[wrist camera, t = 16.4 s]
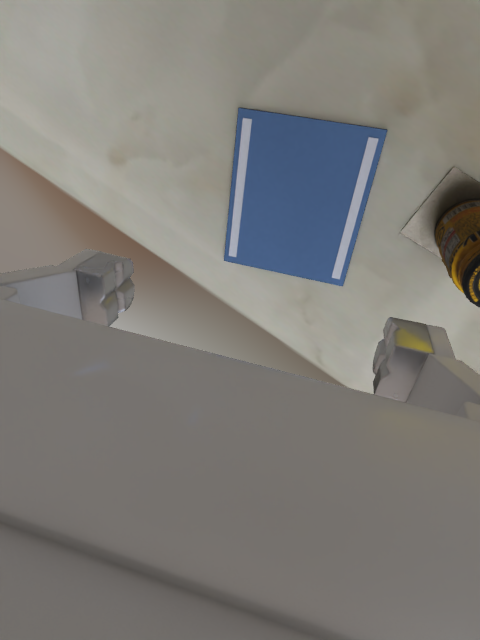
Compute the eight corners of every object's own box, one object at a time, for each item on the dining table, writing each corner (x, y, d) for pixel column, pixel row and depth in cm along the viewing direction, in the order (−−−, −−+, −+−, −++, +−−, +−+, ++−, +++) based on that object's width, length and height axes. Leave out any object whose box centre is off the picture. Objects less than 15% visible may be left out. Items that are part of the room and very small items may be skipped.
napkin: (239, 107, 38) (238, 107, 37) (387, 129, 35) (387, 130, 35) (224, 259, 46) (223, 261, 46) (342, 285, 44) (342, 286, 44)
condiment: (469, 275, 40) (504, 338, 30) (399, 232, 40) (412, 281, 30) (530, 214, 36) (594, 264, 26) (453, 165, 36) (488, 197, 26)
